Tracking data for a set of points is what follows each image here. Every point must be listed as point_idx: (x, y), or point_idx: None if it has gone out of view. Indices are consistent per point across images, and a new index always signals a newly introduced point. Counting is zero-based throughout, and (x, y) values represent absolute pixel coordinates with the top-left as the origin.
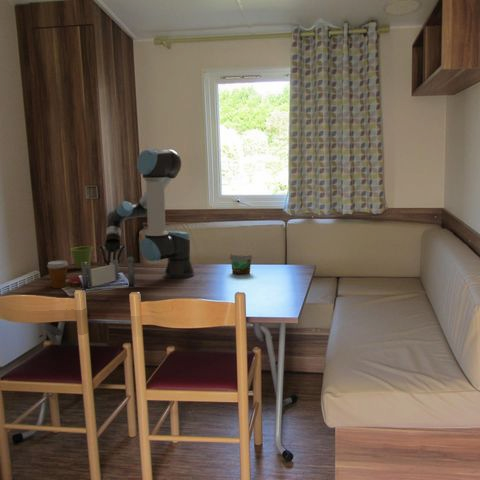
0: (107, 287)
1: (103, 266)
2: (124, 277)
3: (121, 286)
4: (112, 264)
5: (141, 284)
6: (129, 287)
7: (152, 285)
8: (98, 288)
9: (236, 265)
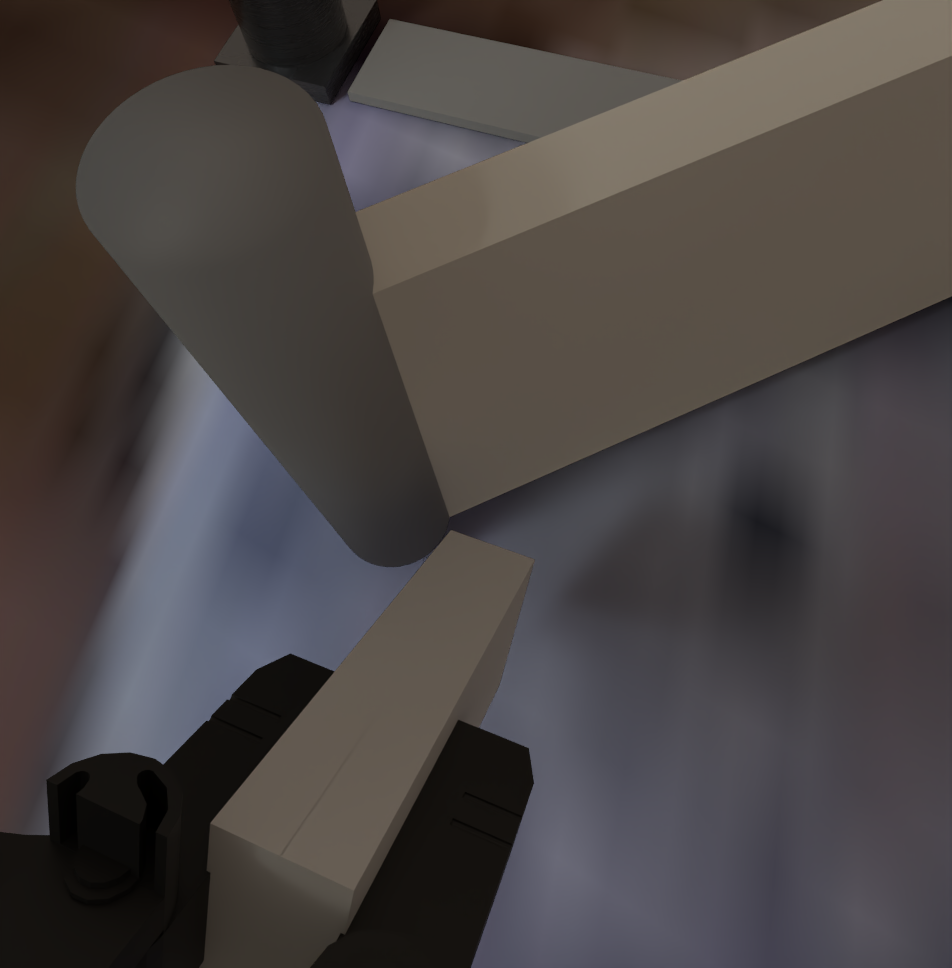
0: None
1: (810, 107)
2: None
3: (443, 94)
4: (399, 280)
5: None
6: (352, 4)
7: (15, 21)
8: None
9: None
